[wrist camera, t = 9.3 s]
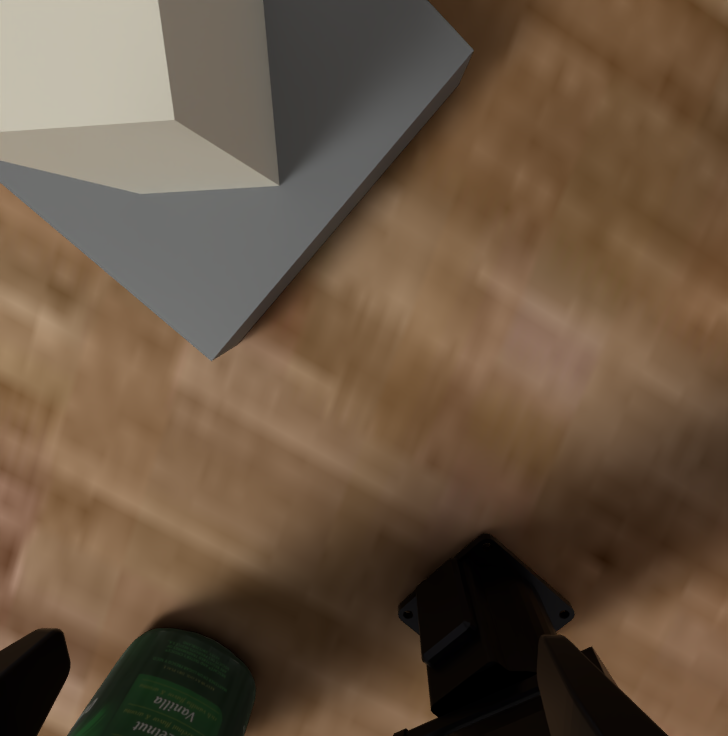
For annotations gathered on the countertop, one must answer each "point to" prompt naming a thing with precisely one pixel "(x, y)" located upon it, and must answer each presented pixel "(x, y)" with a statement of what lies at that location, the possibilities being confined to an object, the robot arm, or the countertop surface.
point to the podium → (295, 168)
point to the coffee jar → (171, 690)
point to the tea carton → (138, 92)
